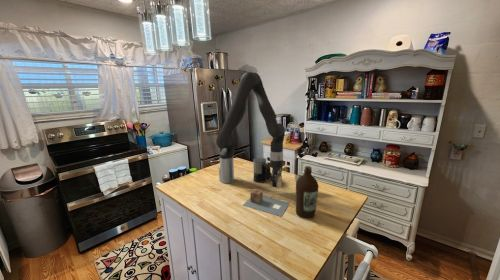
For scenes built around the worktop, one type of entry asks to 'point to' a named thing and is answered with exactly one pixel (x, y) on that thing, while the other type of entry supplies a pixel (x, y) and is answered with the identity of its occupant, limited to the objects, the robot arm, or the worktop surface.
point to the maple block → (277, 182)
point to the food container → (298, 177)
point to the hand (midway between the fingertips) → (276, 185)
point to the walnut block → (256, 196)
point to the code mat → (269, 205)
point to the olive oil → (306, 194)
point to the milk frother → (261, 170)
